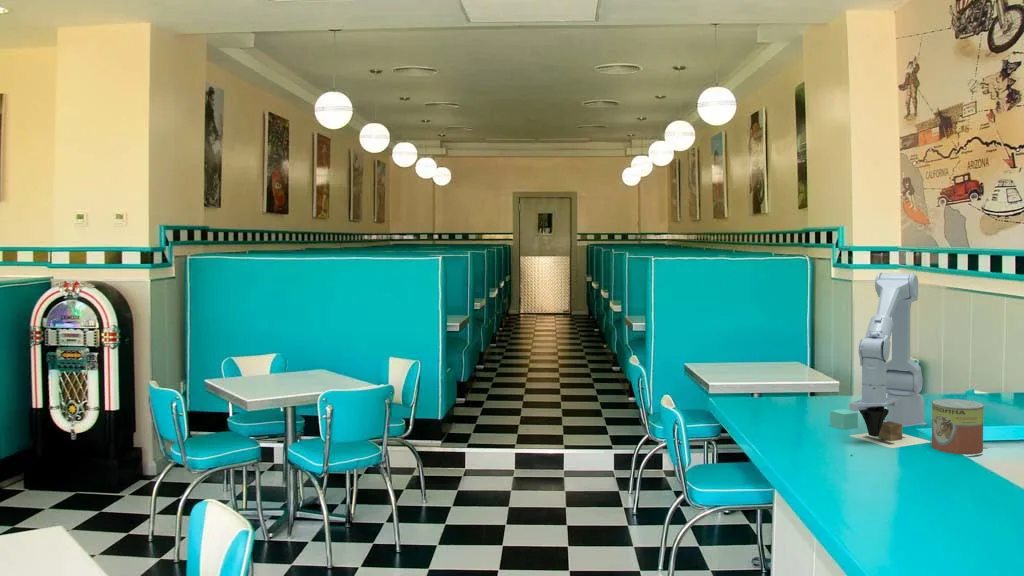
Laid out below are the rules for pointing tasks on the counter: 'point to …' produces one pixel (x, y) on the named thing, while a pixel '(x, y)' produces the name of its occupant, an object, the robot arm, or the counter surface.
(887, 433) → the walnut block
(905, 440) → the board
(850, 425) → the turquoise cube
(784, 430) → the counter surface
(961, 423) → the canned food
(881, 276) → the robot arm
